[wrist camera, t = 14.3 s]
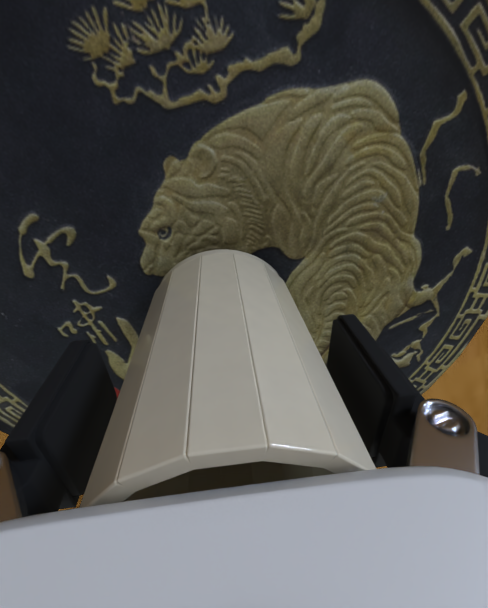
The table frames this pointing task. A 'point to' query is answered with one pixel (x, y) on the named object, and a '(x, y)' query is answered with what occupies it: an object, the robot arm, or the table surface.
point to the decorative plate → (241, 169)
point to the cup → (223, 390)
